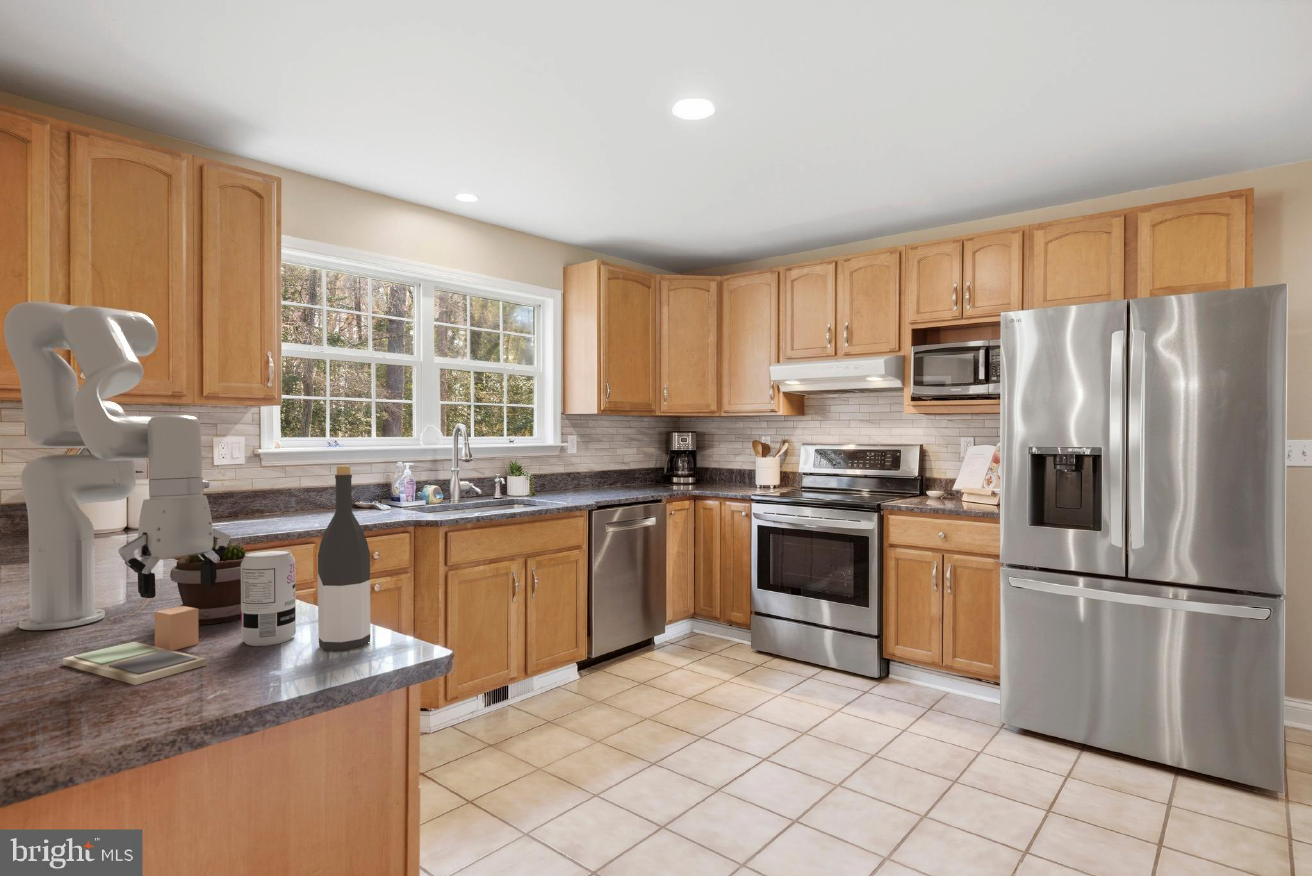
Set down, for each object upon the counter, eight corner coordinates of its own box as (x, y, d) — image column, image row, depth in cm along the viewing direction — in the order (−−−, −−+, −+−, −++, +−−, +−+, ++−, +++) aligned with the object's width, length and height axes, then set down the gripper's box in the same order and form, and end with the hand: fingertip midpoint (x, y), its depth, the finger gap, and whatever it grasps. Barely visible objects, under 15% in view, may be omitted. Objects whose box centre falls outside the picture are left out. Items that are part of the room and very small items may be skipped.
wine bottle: (368, 649, 120) (367, 466, 120) (314, 653, 118) (313, 467, 117) (372, 636, 128) (371, 464, 127) (322, 640, 125) (320, 465, 125)
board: (63, 664, 113) (62, 656, 113) (134, 647, 121) (134, 640, 121) (135, 685, 103) (135, 676, 103) (206, 664, 112) (206, 657, 112)
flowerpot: (221, 606, 150) (220, 509, 150) (278, 613, 145) (277, 512, 145) (151, 624, 136) (150, 517, 136) (210, 631, 131) (209, 520, 131)
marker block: (154, 647, 122) (154, 611, 122) (182, 640, 126) (182, 605, 126) (170, 651, 120) (170, 614, 120) (198, 644, 124) (198, 608, 124)
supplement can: (234, 640, 125) (233, 553, 125) (285, 631, 131) (284, 547, 131) (251, 650, 120) (250, 558, 120) (303, 639, 126) (302, 552, 126)
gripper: (214, 485, 132) (216, 580, 132) (105, 493, 116) (108, 600, 116) (240, 485, 128) (242, 583, 128) (131, 493, 113) (134, 604, 113)
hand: (179, 591), depth 122 cm, fingers open, 9 cm apart
